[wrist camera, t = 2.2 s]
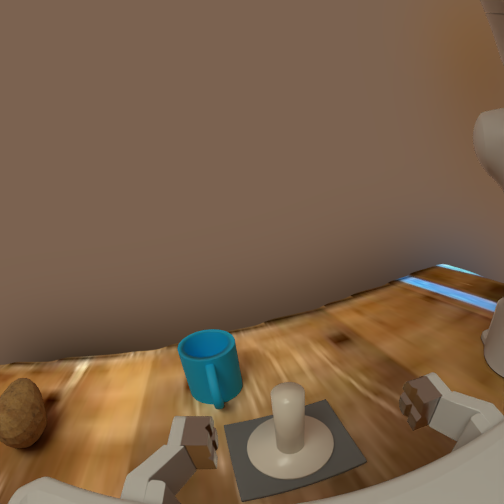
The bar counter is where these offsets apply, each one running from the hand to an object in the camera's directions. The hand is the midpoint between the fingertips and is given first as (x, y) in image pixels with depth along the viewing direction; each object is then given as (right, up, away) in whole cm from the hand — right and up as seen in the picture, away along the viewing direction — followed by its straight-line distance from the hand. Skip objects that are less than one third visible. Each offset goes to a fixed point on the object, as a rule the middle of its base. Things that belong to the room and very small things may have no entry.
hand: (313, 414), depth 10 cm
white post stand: (+2, -16, +17) cm, 24 cm away
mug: (-7, -15, +28) cm, 33 cm away
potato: (-36, -21, +16) cm, 45 cm away
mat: (+2, -16, +17) cm, 24 cm away
